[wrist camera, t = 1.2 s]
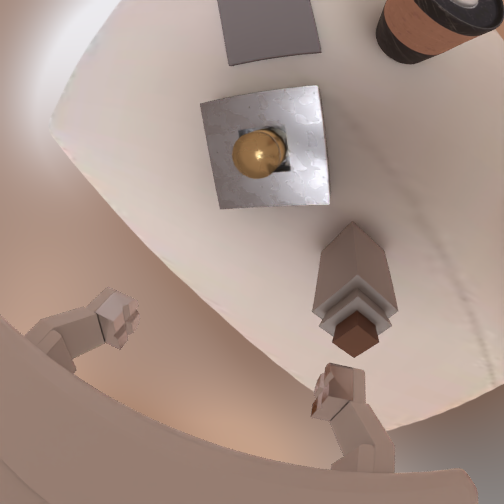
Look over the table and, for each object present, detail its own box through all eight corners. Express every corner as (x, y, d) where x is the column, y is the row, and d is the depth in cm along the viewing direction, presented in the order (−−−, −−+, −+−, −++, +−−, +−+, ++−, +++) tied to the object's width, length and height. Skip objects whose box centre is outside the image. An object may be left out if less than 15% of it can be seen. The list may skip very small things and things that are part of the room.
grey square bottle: (321, 252, 40) (306, 341, 25) (352, 221, 37) (359, 303, 22) (352, 278, 41) (352, 372, 26) (384, 250, 37) (403, 341, 22)
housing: (319, 88, 29) (317, 85, 25) (330, 192, 36) (329, 204, 32) (216, 103, 34) (200, 103, 30) (232, 197, 40) (220, 209, 36)
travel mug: (404, 77, 25) (475, 49, 8) (361, 33, 24) (384, -38, 7) (439, 48, 21) (520, 11, 4) (397, 6, 20) (441, -67, 3)
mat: (304, -20, 22) (303, -22, 21) (321, 52, 27) (321, 51, 26) (218, -3, 25) (216, -5, 25) (230, 66, 31) (228, 65, 30)
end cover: (288, 125, 32) (275, 129, 25) (293, 162, 34) (282, 177, 28) (250, 129, 34) (228, 135, 27) (256, 166, 36) (236, 180, 29)
